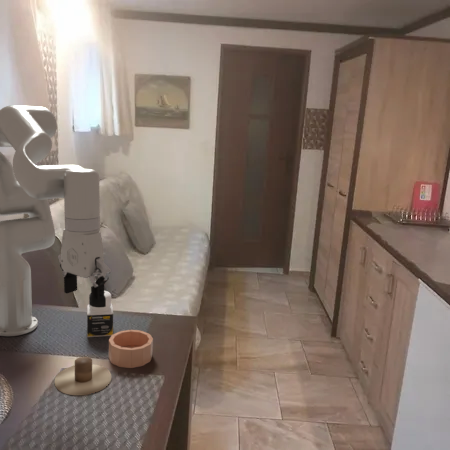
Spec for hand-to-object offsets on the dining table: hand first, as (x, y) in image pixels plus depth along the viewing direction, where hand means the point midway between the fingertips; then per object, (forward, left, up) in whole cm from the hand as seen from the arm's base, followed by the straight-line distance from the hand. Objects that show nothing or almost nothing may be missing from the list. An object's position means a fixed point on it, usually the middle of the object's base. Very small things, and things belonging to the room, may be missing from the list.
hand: (84, 296), depth 111 cm
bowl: (+2, +14, -21) cm, 25 cm away
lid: (+1, -1, -21) cm, 21 cm away
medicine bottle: (-15, +19, -21) cm, 33 cm away
